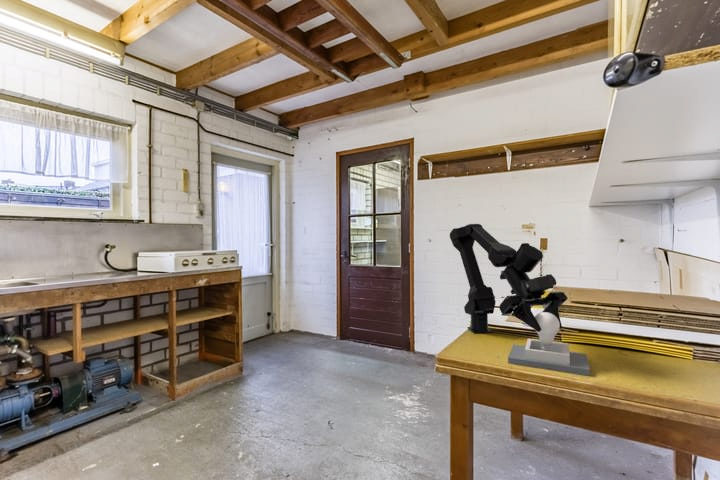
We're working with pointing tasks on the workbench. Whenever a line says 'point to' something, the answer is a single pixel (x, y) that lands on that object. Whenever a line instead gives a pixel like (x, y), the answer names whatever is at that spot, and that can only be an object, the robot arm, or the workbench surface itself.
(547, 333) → the lightbulb
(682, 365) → the workbench surface
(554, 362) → the holder
